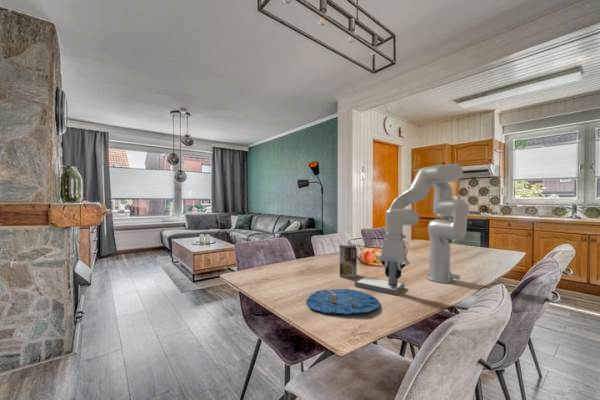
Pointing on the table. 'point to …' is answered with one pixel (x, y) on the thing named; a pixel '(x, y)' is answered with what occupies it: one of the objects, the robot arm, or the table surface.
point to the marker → (392, 274)
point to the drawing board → (379, 285)
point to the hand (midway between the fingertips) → (392, 276)
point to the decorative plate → (342, 301)
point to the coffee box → (347, 261)
